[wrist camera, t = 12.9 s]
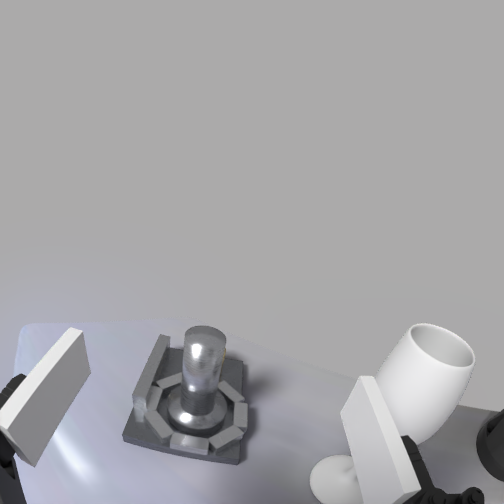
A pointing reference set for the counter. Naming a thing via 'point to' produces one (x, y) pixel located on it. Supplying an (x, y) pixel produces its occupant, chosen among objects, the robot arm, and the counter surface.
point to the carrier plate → (156, 419)
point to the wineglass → (406, 400)
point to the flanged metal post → (199, 384)
